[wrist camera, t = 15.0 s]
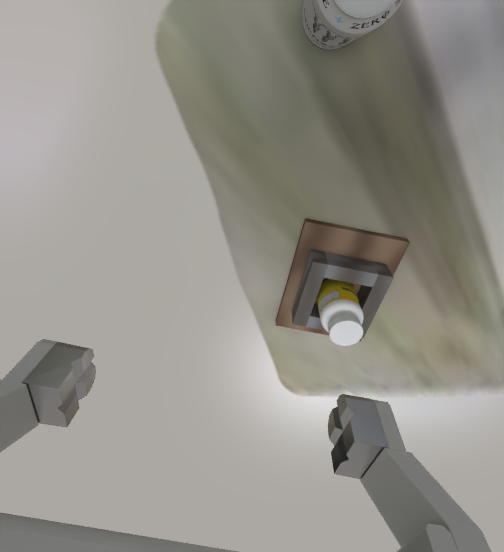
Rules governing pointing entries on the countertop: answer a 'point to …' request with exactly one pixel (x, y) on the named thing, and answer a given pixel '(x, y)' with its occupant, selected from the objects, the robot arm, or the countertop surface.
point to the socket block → (338, 271)
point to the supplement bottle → (340, 311)
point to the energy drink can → (344, 19)
